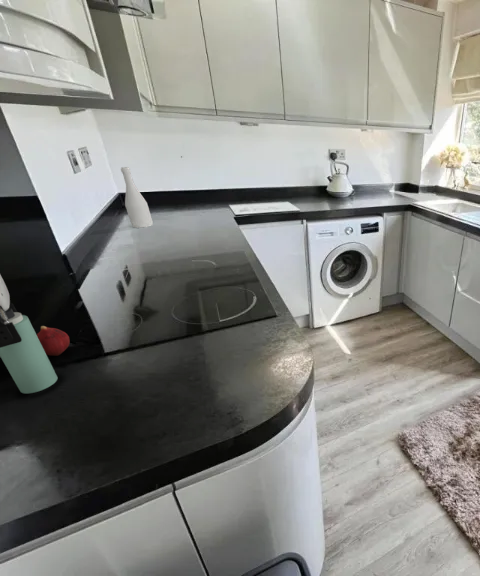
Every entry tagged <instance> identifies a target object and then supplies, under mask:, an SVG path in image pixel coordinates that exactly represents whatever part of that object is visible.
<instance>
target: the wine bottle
mask: <svg viewBox="0 0 480 576" xmlns="http://www.w3.org/2000/svg"><path fill="white" fill-rule="evenodd" d="M120 171H121V174H122V176H123V180H124V183H125V197H124V206H125V209H126V212H127V215H128V218H129V221H130V225H131V226H132V228H136V229H144V228H149V227H153V225H154V221H153V218H152V214H151V212H150V208H149V205H148V202H147V200H146V199H145V198H144V196H143V195H142V194H141V192H140V191H139V190H138V188H137V186H136V185H135V183H134V179H133V177H132V176H133V175H132V174H131V172H132V171H131V168H129V167H128V166H122V167H120Z"/></svg>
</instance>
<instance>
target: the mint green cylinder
mask: <svg viewBox="0 0 480 576" xmlns="http://www.w3.org/2000/svg"><path fill="white" fill-rule="evenodd" d="M5 313H6V315H7V317H8V320H9V322H12V323H13V324H14V326H15V328H16V330H17V331H18V333H19V335H20V337H21V339H22V341H21V342H19V343H15V344H12V345H8V346H5V347H1V348H0V358H1V360H2V362H3V364H4V365H5V367H6V369H7V370H8V371H7V372H9V374H10V376H11V378H12V380H13V381H14V383H15V385H16V387H17V388H18V390H19V392H20V393H22V394H33V393H37V392H40V391H43V390H46V389H48V388H49V387H51V386H52V385H54V384H55V383H56V382H57V381H58V375H57V373H56V370H55V369H54V367H53V365H52V363H51V361H50V359H49V357H48V355H46V353H45V351H44V349H43V347H42V345H41V343H40V341H39V339H38V337H37V333H36V331H35V329H34V327H33V325H32V323H31V320H30V319H29V317H28V316H27V315H25V314H22V313H21V312H18V311H17V312H13V310H12V309H11V308H8V310H6V311H5ZM0 317H1V315H0ZM1 319H2V318H1Z"/></svg>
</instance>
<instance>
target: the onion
mask: <svg viewBox="0 0 480 576" xmlns="http://www.w3.org/2000/svg"><path fill="white" fill-rule="evenodd" d="M36 335H37V337H38V339H39V341H40V343H41V345H42V347H43V349H44V351H45V353H46V355H47V356H53V357H58V356H60V355H61V354H63V353H64V352H65V351H66V350H67V349H68V348H69V346H70V342H71V341H70V336H69V335H68V333H66V332H65V331H63V330H61V329H58V328H55V327H48V326H45V325H41V326H40V331H39V332H38V333H36Z"/></svg>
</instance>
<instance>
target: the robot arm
mask: <svg viewBox="0 0 480 576" xmlns="http://www.w3.org/2000/svg"><path fill="white" fill-rule="evenodd" d="M8 289H9V288H8V287H7V285H6V283H5V281H4V279H3V277H2V275H1V274H0V315H1V317H0V348H1V347H5V346H8V345H12V344H15V343H19V342H21V341H22V339H21V337H20V335H19V333H18V331H17V330H16V328H15V326H14V324H13V323H12V322H9V320H8V317H7V315H6V313H5V311H6V310H8V308H11V309H12V310H13V312H18V311H17V309H16V307H15V305H14V304H13V303H12V302H11V300H10V299H11V298H10V297H11V296H10V293H9V290H8ZM1 318H2V319H1Z"/></svg>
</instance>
